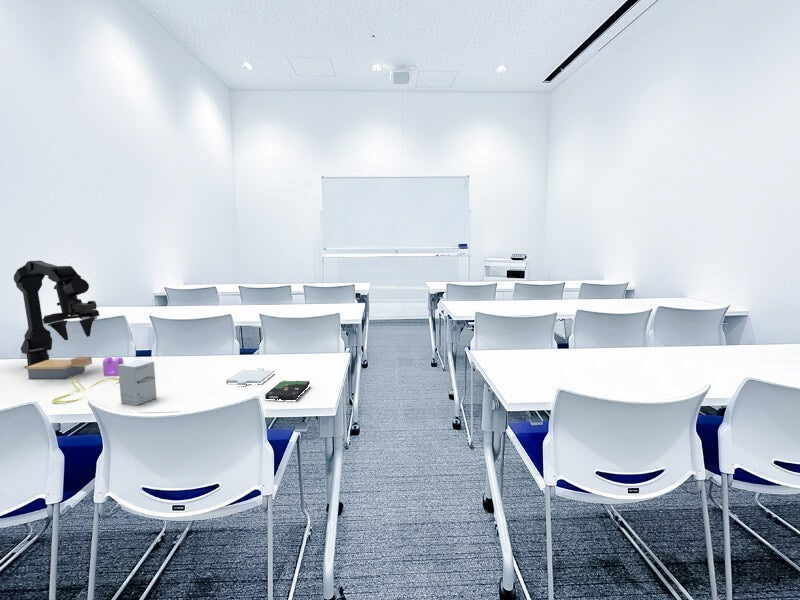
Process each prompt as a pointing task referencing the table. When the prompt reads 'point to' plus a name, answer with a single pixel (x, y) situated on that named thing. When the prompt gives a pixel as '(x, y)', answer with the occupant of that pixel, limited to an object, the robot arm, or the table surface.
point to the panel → (54, 373)
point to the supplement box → (137, 382)
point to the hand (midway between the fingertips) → (77, 338)
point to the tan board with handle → (62, 363)
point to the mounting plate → (249, 376)
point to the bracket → (111, 366)
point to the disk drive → (287, 390)
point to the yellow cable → (79, 390)
